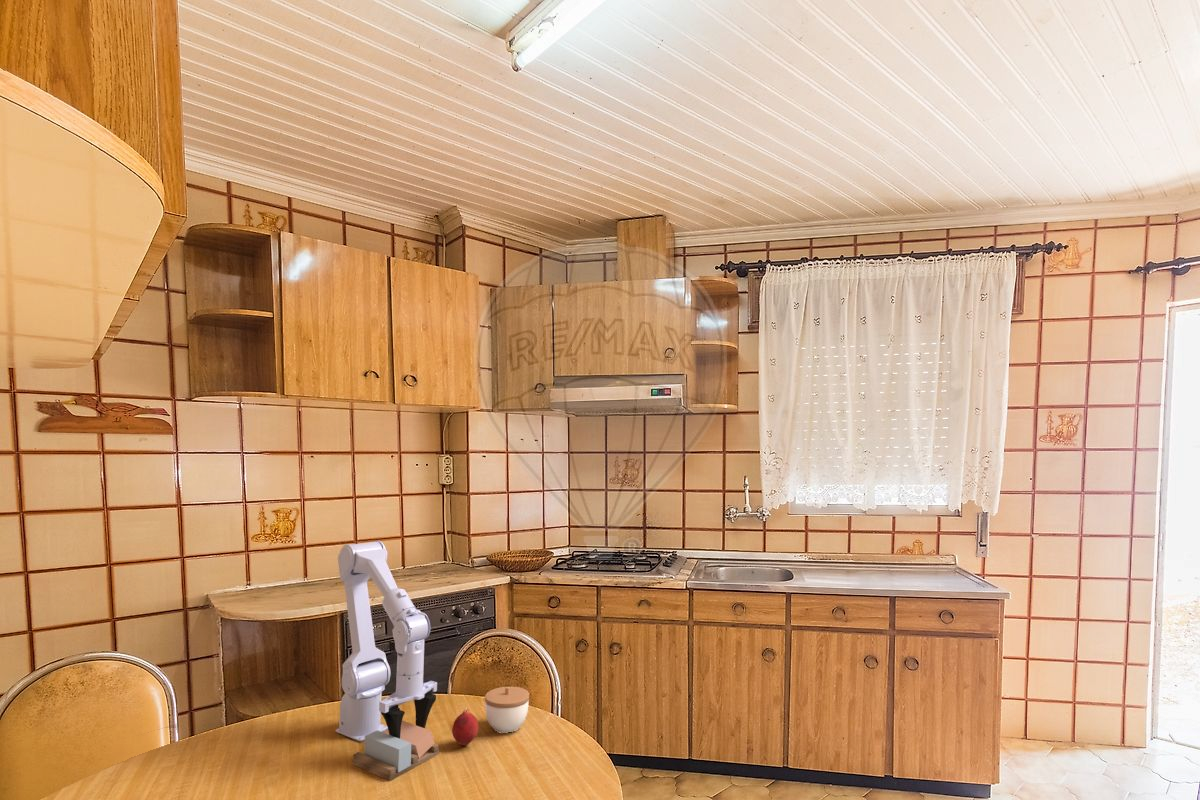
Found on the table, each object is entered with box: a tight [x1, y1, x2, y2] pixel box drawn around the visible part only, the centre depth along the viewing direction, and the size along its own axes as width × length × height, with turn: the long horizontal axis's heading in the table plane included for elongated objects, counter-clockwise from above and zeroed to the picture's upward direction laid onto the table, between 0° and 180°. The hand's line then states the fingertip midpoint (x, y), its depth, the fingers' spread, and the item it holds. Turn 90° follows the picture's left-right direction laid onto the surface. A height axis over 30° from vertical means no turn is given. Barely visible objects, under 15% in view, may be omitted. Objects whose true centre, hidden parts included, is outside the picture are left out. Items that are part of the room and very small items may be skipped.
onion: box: [451, 707, 479, 747], centre depth 136 cm, size 6×6×8 cm
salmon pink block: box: [383, 720, 435, 758], centre depth 132 cm, size 11×3×4 cm
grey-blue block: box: [363, 730, 411, 772], centre depth 127 cm, size 11×3×4 cm, turn 58°
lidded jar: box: [484, 686, 530, 734], centre depth 145 cm, size 11×11×9 cm
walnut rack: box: [352, 742, 440, 782], centre depth 129 cm, size 12×13×2 cm
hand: (407, 735), depth 132 cm, fingers open, 6 cm apart
